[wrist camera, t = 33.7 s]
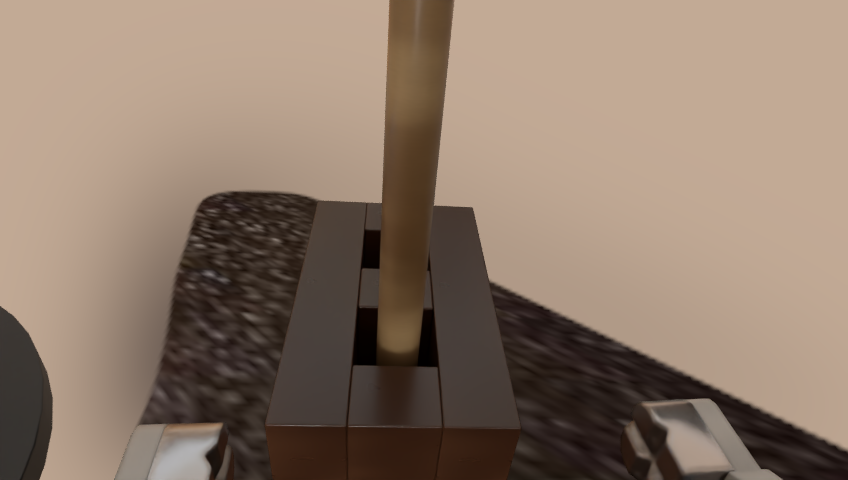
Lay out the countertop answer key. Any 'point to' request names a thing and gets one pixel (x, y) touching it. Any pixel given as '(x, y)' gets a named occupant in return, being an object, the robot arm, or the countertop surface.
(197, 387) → the countertop surface
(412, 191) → the stirring stick
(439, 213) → the utensil block
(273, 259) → the countertop surface
